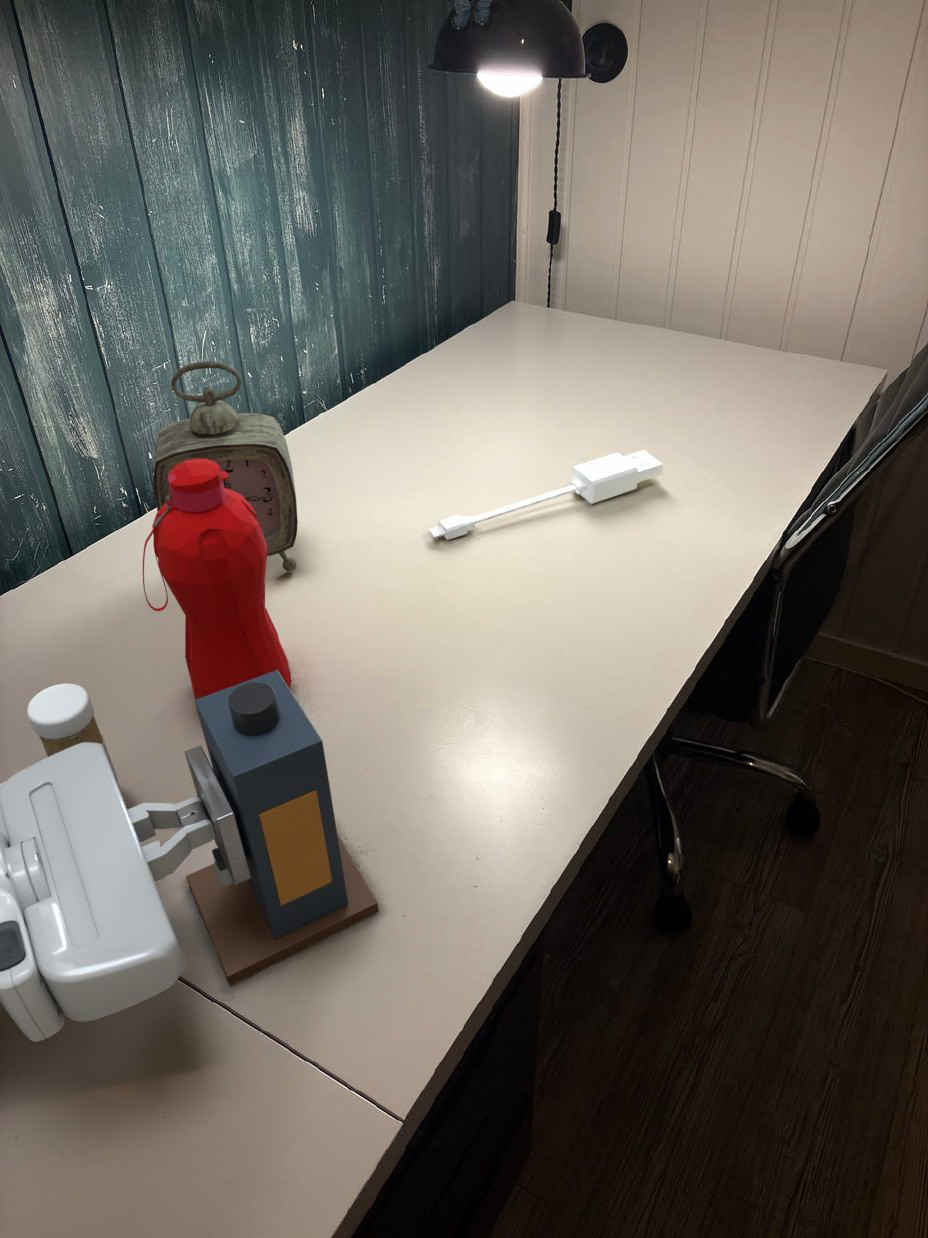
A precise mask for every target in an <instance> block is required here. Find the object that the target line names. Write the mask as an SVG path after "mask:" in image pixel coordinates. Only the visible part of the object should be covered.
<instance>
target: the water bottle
mask: <svg viewBox="0 0 928 1238" xmlns="http://www.w3.org/2000/svg"><path fill="white" fill-rule="evenodd" d="M228 478H229V476H228V474H227V472H226V471H223V472H221V469H220V467H219V465H218V464H217V463H216V462H214V461H211V460H208V459H193V460H186V461H184V462H182V463H180V464H178V465H176V466H175V467H174V468H173V469H172V470H171V471H170V473H169V476H168V481H169V487H170V491H171V494H172V495H170V496H166V499H165V500H166V503H165V504H164V505H163V506H162V507H161V509H160V510H159V511H158V512H156V513H155V516H154V520H153V523H152V529H151V530H150V531H151V532H150V533H149V534H148V536H147V538H146V540H145V542H144V546H143V551H142V552H143V553H142V585H143V592H144V596H145V600H146V603H147V604H148V606H149V607H150V609H152V610H153V611H154V612H161V611H164V610H165V609H166V607H167V606H168V604H169V603H168V602H169V595H168V590H167V586H168V588H169V590H170V591H171V593H172V596H174V599H175V601H176V602H177V604H178V606H179V607H180V609H181V611H182V613H183V614H184V616H185V617H184V618H185V619H184V622H185V623H184V625H185V626H184V629H185V630H184V639H185V640H184V657H185V662H186V667H187V670H188V675H189V679H190V684H191V687H192V691H193V696H194V699H195V700H196V699H199V698H202V697H205V696H207V695H210V694H213V693H215V692H218V691H221V690H224V689H226V688H229V687H232V686H235V685H237V684H240V683H243V682H246V681H248V680H251V679H254V678H256V677H259V676H262V675H265V674H267V673H270V672H273V671H276V670H278V672H279V673H280V675H281V676H282V678H283V679H284V681H285V683H286V684H287V686H288V687H289V689H290V690H291V687H292V681H293V680H292V676H291V675H292V674H291V671H290V666H289V660H288V657H287V655H286V653H285V650H284V648H283V646H282V644H281V642H280V638H279V637H280V636H279V634H278V631H277V629H276V627H275V625H274V622H273V620H272V619H271V616H270V614H269V612H268V609H267V608H266V573H267V572H266V571H267V561H268V556H267V545H266V541H265V538H264V535H263V532H262V529H261V526H260V524H259V523H258V522H257V517H256V513H255V511H254V510H253V508H252V506H251V505H250V503H249V502H248V501H247V500H246V499H245V498H244V497H243V496H242V495H241V494H239V493H236V492H234V491H232V490H229V489H226V488H224V483H223V480H224V479H228ZM167 498H168V499H167ZM151 537H153V551H154V555H155V560H156V563H157V566H158V571H159V574H160V576H161V579H162V582H163V586H164V588H165V589H164V590H165V595H166V599H165V600H166V601H165V603H164V604H163V606H162V607H158V608H157V607H154V606H153V605H152V604H151V603H150V601H149V599H148V596H147V592H146V587H145V586H146V585H145V556H146V550H147V549H146V548H147V544H148V542H149V540H150V539H151ZM165 582H166V583H165ZM166 584H167V586H166ZM195 700H194V701H195Z"/></svg>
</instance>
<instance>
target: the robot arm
mask: <svg viewBox="0 0 928 1238" xmlns="http://www.w3.org/2000/svg"><path fill="white" fill-rule="evenodd" d="M118 784H119V783H118ZM118 784H117V781H116V778H115V775H114V773H113V770H112V768H111V765H110V762H109V760H108V757H107V755H106V752H105V750H104V747H103V745H102V744H100V743H91V742H83V743H80V744H77V745H74V746H72V747H69V748H67V749H65V750H63V751H60V752H58V753H56V754H54V755H51V756H49V757H48V756H47V757H45V758H43V759H41V760H39V761H37V762H35V763H33V764H31V765H29V766H27V767H24V768H23V769H21V770H20V771H17V772H16V773H15V774H13V775H11V776H10V777H9V778H8V779H6V780H5V781H3V782H0V1004H1V1005H2V1006H3V1009H5V1011H6V1012H7V1014H8V1015H9V1016H10V1017H11V1019H12V1020H13V1021H14V1023H15V1024H16V1025H17V1027H18V1028H19V1029H20V1031H21V1032H22V1033H23V1035H24V1036H25V1037H26V1038H27V1039H29V1041H31V1042H33V1043H34V1042H35V1043H36V1042H37V1043H38V1042H41V1041H44V1040H46V1039H48V1038H50V1037H52V1036H54V1035H55V1034H57V1033H58V1032H59V1031H60V1030H62V1028H63V1027H64V1024H65V1017H67V1018H68V1019H69V1020H72V1021H75V1022H91V1021H95V1020H98V1019H103V1018H105V1017H108V1016H111V1015H113V1014H115V1013H119V1012H121V1011H123V1010H125V1009H128V1008H130V1007H133V1006H135V1005H138V1004H139V1003H142V1002H144V1001H146V1000H148V999H151V998H152V997H154V996H157V995H159V994H161V993H162V992H165V991H166V990H168V989H169V988H171V987H173V985H174V984H176V982H177V981H178V980H179V978H180V976H181V975H182V974H183V972H184V971H185V969H186V967H187V964H186V963H187V962H186V959H185V956H184V954H183V950H182V948H181V946H180V942H179V940H178V938H177V935H176V933H175V930H174V927H173V925H172V922H171V919H170V917H169V914H168V912H167V910H166V907H165V904H164V901H163V900H162V897H161V894H160V892H159V889H158V886H157V884H156V881H157V882H158V880H161V879H164V878H167V876H168V877H169V876H170V875H172V874H174V872H175V871H176V870H177V869H178V868H179V867H180V866H181V864H182V863H183V862H184V861H185V860H186V859H187V858H188V857H189V855H190V854H191V853H192V852H193V851H192V850H194V849H197V848H199V847H201V846H203V845H206V844H208V843H211V842H212V841H213V840H214V838H215V836H216V835H215V831H214V828H213V825H212V823H211V821H210V819H209V817H208V815H207V813H206V810H205V808H204V806H203V804H202V801H201V799H200V798H199V797H198V796H192V797H189V798H187V799H183V800H182V801H179V802H177V803H175V804H174V803H169V802H166V803H165V802H143V803H140V804H138V805H135V806H132V807H130V808H128V807H127V808H126V805H125V802H124V800H123V797H122V795H123V793H122V794H121V792H122V791H121V792H120V789H121V788H120V789H119V787H118ZM169 829H179V830H178V831H176V833H174V834H173V835H172V836H171V837H170V838H169V839H168V840H166V842H165V843H164V844H161V841H160V840H155V841H152V842H151V843H148V844H145V845H143V846H142V845H141V843H143V842H146V841H148V840H150V839H152V838H154V837H156V830H169Z"/></svg>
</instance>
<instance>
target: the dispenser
mask: <svg viewBox="0 0 928 1238" xmlns="http://www.w3.org/2000/svg"><path fill="white" fill-rule="evenodd" d="M194 704H195V708H196V709H195V710H196V712H197V716H198V719H199V723H200V727H201V730H202V734H203V738H204V741H205V744H206V748H207V752H208V757H209V761H210V764H211V767H212V769H213V771H214V773H215V775H216V777H217V779H218V781H219V783H220V785H221V787H222V789H223V791H224V793H225V795H226V797H227V799H228V801H229V803H230V805H231V808H232V810H233V812H234V814H235V818H236V822H237V826H238V829H239V833H240V837H241V841H242V845H243V848H244V852H245V856H246V860H247V863H248V867H249V871H250V875H251V878H250V879H248V880H246V881H243V882H241V883H239V884H237V885H235V884H234V882H233V880H232V878H231V876H230V874H229V871H228V869H227V867H226V865H225V862H224V860H223V858H222V856H221V854H220V851H219V849H218V847H216V848H214V849H213V848H212V850H211V853H212V856H213V859H214V863H212V864H209V865H206V867H204V868H200V869H198V870H195V871H194V872H191V873H189V874H186V875H185V876H186V877H185V878H186V880H187V883H188V886H189V889H190V891H191V893H192V895H193V898H194V901H195V903H196V905H197V908H198V910H199V913H200V915H201V917H202V920H203V923H204V926H205V927H206V929H207V932H208V935H209V938H210V940H211V943H212V945H213V947H214V950H215V952H216V954H217V957H218V959H219V962H220V965H221V967H222V970H223V972H224V975H225V977H226V980H227V982H228V984H229V985H230V986H232V985H233V984H236V983H238V982H239V981H242V980H244V979H246V978H247V977H250V976H252V975H254V974H256V973H258V972H260V971H263V970H265V969H266V968H268V967H270V966H272V965H275V964H276V963H278V962H280V961H283V960H284V959H287V958H289V957H291V956H292V955H295V954H296V953H299V952H301V951H302V950H304V949H306V948H309V947H310V946H312V945H314V944H317V943H318V942H320V941H323V940H324V939H326V938H329V937H331V936H333V935H335V934H337V933H339V932H340V931H343V930H344V929H346V928H349V927H350V926H352V925H353V926H354V924H357V923H358V922H361V921H363V920H365V919H367V918H369V917H371V916H373V915H375V914H377V913H379V912H380V910H379V902H378V901H377V899H376V897H375V895H374V894H373V892H372V890H371V889H370V887H369V885H368V883H367V882H366V880H365V879H364V877H363V875H362V873H361V871H360V870H359V868H358V867H357V865H356V862H355V861H354V859H353V858H352V855H350V853H349V851H348V849H347V847H346V846H345V844H344V843H343V840H342V839H341V837H340V836H339V833H338V831H337V824H336V818H335V817H336V816H335V812H334V811H335V810H334V807H333V806H334V805H333V798H332V792H331V787H330V779H329V773H328V768H327V767H328V766H327V762H326V755H325V748H324V742H323V739H322V737H321V736H320V734H319V733H318V731H317V730H316V728H315V727H314V725H313V724H312V721H311V720H310V719H309V717H308V716H307V713H306V712H305V711H304V709H303V708H302V706H301V704H300V703H299V702H298V699H297V698H296V696H295V695H294V694H293V692H292V690H291V688H290V689H289V687H288V686H287V684H286V683H285V681H284V679H283V678H282V676H281V675H280V673H279V672H278V670H276V671H273V672H270V673H267V674H265V675H262V676H259V677H256V678H254V679H251V680H248V681H246V682H243V683H240V684H237V685H235V686H232V687H229V688H226V689H224V690H221V691H218V692H215V693H213V694H210V695H207V696H205V697H202V698H199V699H196V700H194Z"/></svg>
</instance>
